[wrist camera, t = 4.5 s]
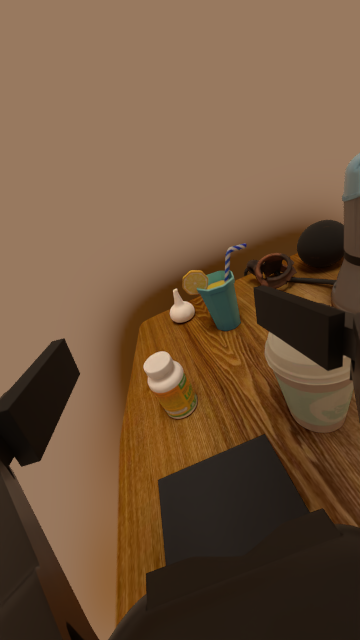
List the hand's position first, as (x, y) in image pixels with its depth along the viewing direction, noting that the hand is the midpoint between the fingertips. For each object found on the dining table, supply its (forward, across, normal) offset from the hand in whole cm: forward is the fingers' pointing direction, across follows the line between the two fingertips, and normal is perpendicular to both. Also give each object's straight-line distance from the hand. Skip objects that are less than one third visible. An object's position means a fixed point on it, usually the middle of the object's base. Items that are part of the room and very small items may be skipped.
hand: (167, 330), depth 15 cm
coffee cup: (+5, +15, -18) cm, 24 cm away
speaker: (+33, +40, -8) cm, 53 cm away
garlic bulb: (+39, +6, -14) cm, 42 cm away
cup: (+29, +15, -14) cm, 35 cm away
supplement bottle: (+14, 0, -19) cm, 24 cm away
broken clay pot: (+36, +28, -10) cm, 47 cm away
